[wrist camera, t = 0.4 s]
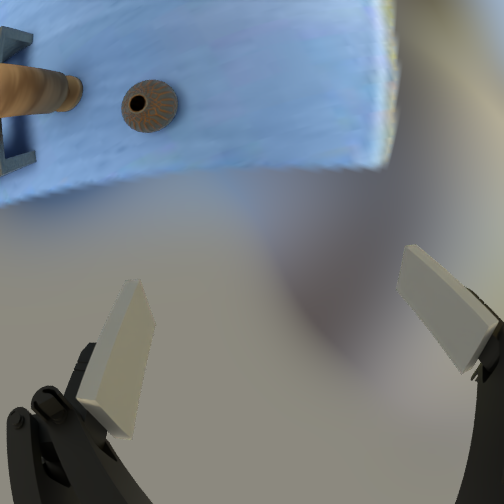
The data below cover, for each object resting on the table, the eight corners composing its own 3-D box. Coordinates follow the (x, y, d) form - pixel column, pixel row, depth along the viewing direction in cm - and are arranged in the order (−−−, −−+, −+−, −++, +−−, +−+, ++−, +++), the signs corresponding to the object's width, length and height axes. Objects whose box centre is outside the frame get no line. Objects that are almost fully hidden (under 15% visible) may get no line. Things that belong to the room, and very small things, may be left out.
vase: (129, 130, 32) (104, 133, 24) (137, 83, 29) (113, 73, 21) (177, 133, 33) (163, 136, 25) (185, 85, 30) (174, 74, 22)
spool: (52, 83, 26) (-23, 78, 11) (83, 70, 26) (11, 53, 11) (54, 117, 29) (-23, 128, 14) (85, 106, 29) (9, 106, 14)
